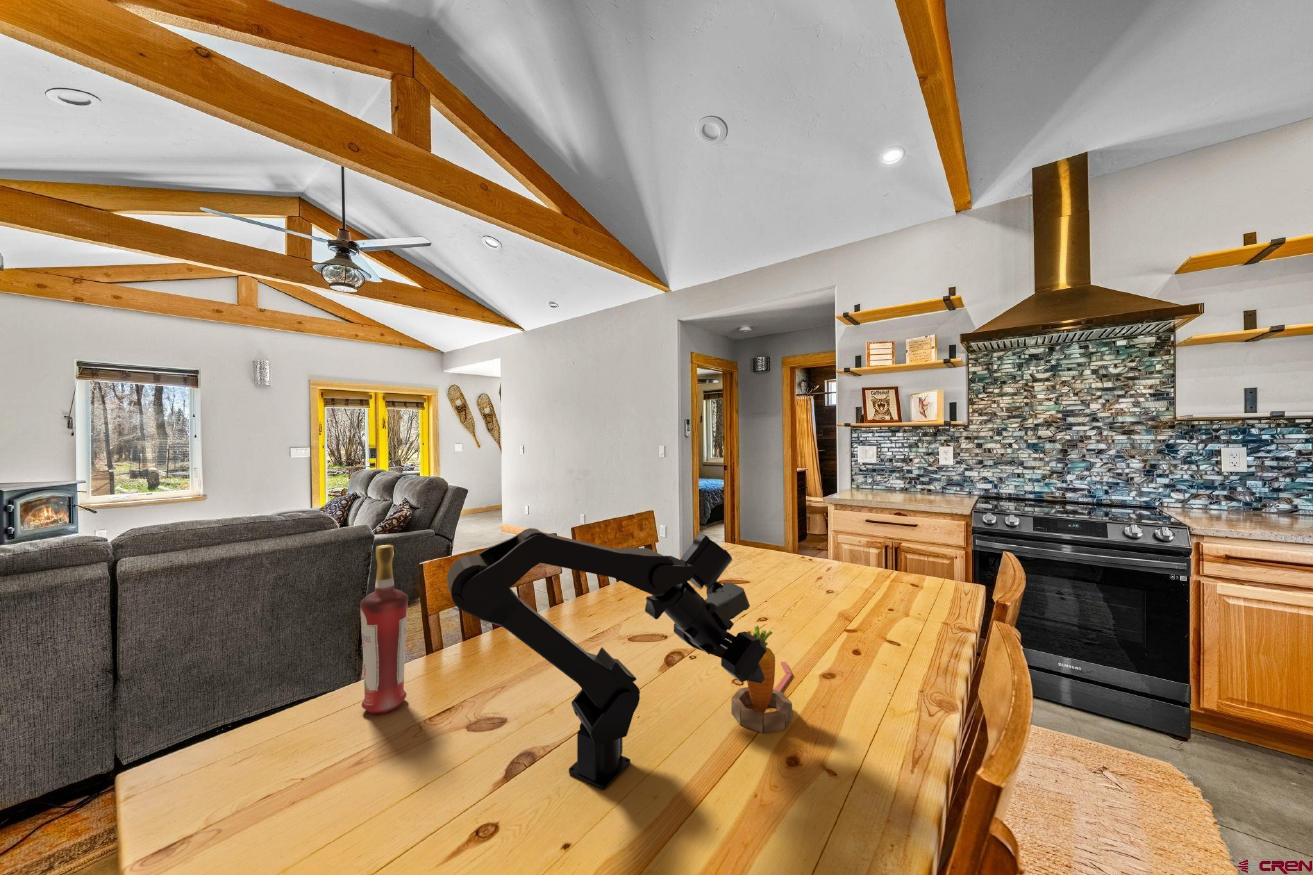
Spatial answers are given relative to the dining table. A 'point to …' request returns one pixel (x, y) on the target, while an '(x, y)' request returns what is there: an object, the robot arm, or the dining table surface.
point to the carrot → (764, 690)
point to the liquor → (384, 639)
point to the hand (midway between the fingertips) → (744, 668)
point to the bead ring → (762, 720)
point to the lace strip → (785, 678)
